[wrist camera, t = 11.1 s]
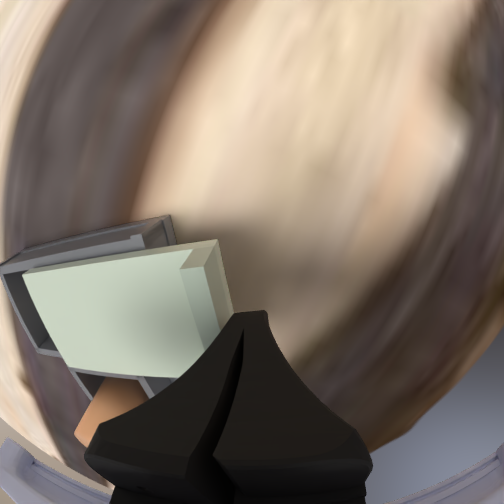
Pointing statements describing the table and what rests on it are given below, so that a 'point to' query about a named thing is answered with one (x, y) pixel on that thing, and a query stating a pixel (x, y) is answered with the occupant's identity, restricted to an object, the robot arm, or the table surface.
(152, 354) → the lid
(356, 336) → the table surface
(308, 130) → the table surface
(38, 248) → the housing
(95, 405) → the tan cylindrical peg
